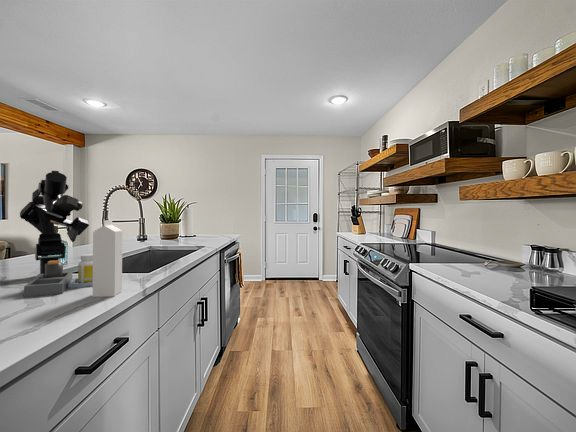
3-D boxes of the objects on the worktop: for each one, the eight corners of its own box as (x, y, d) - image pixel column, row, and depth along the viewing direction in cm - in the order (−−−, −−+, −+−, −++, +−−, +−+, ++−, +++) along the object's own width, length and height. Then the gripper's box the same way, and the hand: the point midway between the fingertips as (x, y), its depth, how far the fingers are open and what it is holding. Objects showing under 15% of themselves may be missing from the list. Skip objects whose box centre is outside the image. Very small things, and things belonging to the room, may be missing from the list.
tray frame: (72, 282, 110) (72, 278, 110) (104, 279, 114) (104, 276, 114) (68, 288, 101) (68, 284, 101) (103, 285, 106) (103, 281, 106)
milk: (122, 291, 98) (123, 220, 98) (114, 296, 92) (115, 220, 92) (100, 292, 97) (101, 219, 97) (91, 297, 91) (93, 220, 91)
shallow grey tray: (40, 282, 108) (40, 259, 108) (72, 280, 112) (72, 258, 112) (24, 296, 90) (24, 269, 90) (62, 293, 95) (62, 267, 94)
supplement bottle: (100, 282, 110) (100, 254, 110) (89, 285, 105) (89, 256, 105) (86, 281, 111) (86, 253, 111) (74, 285, 105) (74, 255, 105)
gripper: (40, 177, 101) (44, 209, 93) (95, 200, 117) (103, 229, 108) (18, 200, 103) (19, 234, 94) (75, 220, 118) (81, 250, 110)
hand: (59, 237), depth 101 cm, fingers open, 9 cm apart
